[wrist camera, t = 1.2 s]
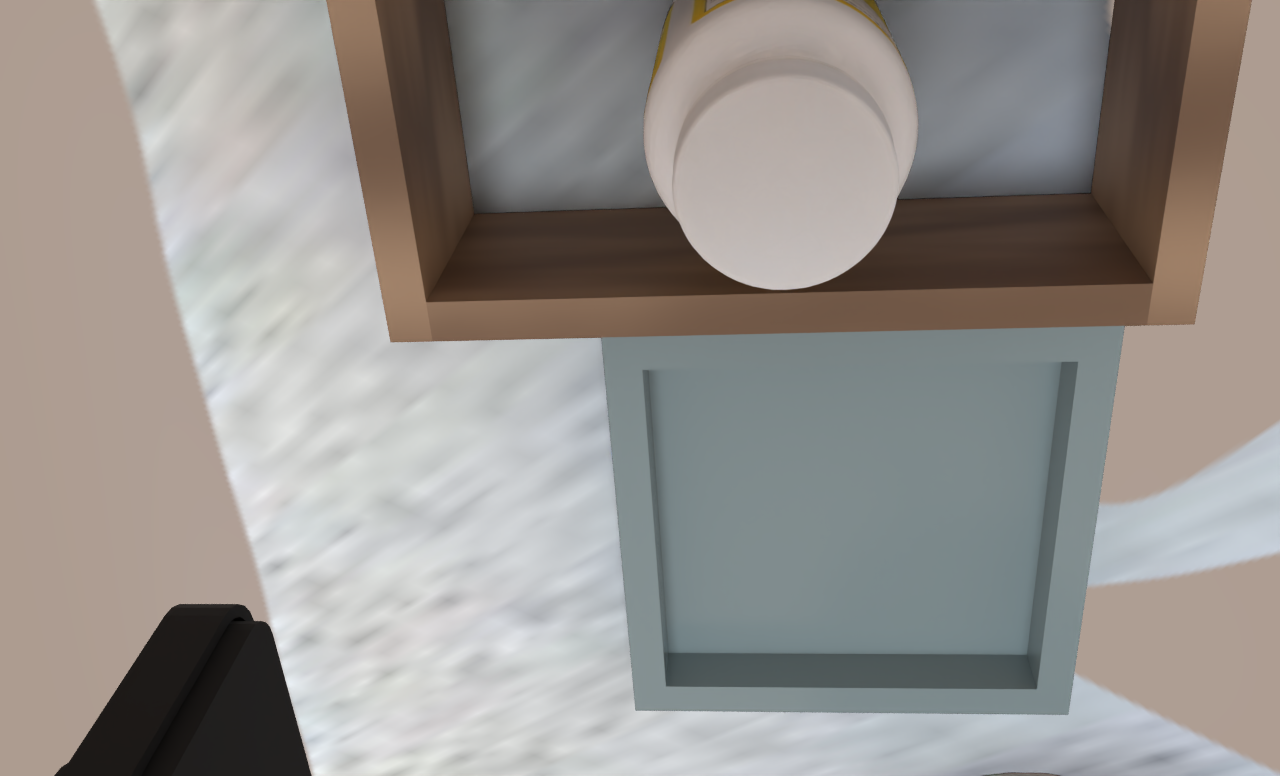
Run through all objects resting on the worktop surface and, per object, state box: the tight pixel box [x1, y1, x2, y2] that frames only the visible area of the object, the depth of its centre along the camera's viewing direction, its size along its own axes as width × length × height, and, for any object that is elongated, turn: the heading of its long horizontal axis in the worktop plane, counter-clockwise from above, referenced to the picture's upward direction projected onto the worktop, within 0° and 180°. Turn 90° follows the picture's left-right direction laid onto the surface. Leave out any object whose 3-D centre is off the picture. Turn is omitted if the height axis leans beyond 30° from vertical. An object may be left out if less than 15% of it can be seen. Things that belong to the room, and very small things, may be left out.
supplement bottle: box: [643, 0, 918, 290], centre depth 25 cm, size 5×5×10 cm
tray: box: [601, 326, 1125, 715], centre depth 35 cm, size 13×13×2 cm
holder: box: [326, 0, 1252, 342], centre depth 27 cm, size 10×18×6 cm, turn 94°
